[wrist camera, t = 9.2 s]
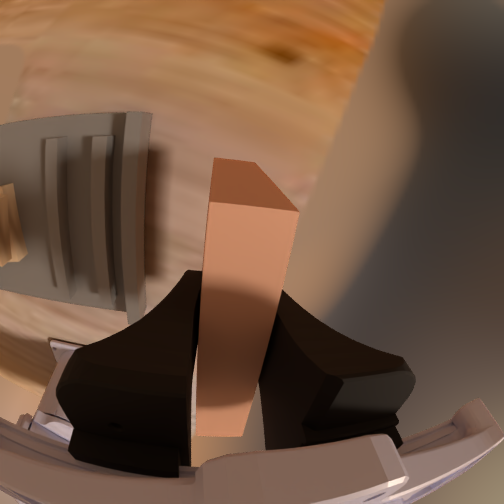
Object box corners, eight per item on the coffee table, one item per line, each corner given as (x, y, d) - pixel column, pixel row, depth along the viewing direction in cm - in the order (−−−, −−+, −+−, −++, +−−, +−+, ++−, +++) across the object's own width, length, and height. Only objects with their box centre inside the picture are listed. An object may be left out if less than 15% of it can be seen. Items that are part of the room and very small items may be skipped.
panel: (230, 324, 18) (241, 436, 10) (198, 322, 17) (196, 435, 10) (254, 162, 13) (299, 212, 6) (214, 157, 13) (209, 201, 6)
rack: (146, 306, 22) (140, 325, 20) (-2, 282, 19) (-15, 295, 17) (152, 113, 16) (142, 111, 14) (-19, 129, 13) (-37, 132, 11)
